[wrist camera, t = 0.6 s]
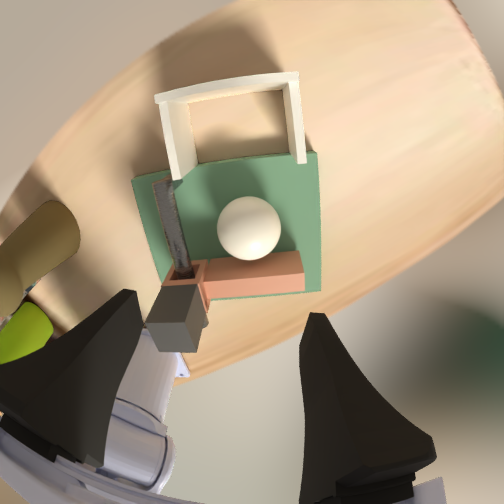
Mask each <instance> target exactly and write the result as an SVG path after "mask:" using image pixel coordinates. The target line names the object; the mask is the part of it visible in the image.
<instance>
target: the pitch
mask: <svg viewBox="0 0 504 504" xmlns="http://www.w3.org/2000/svg"><path fill="white" fill-rule="evenodd" d="M306 158H307V163H306V164H297V162H296V161H295V160H294V158H293V157H292V155H291V154H290V152H289V153H278V154H268V155H259V156H250V157H242V158H235V159H227V160H220V161H214V162H207V163H201V164H198V165H197V166H196V167H194V168H193V169H192V170H191V171H190V172H189V173H187V174H186V175H185V176H184V177H183V178H182V179H183V183H182V184H181V185H180V186H179V187H178V188H177V189H176V190H175V191H174V194H175V198H176V202H177V207H178V211H179V215H180V219H181V224H182V228H183V232H184V236H185V240H186V244H187V247H188V251H189V255H190V259H191V261H193V260H203V259H207V260H208V264H209V263H210V259H214V258H225V257H234V256H232V255H231V254H229V253H228V252H227V251H226V250H225V249H224V248H223V246H222V245H221V243H220V241H219V238H218V234H217V223H218V219H219V216H220V214H221V212H222V210H223V209H224V208H225V207H226V206H227V205H228V204H229V203H230V202H232V201H233V200H235V199H237V198H241V197H247V196H251V197H257V198H260V199H263V200H265V201H266V202H268V203H269V204H270V205H271V206H272V207H273V208H274V209H275V211H276V212H277V214H278V216H279V219H280V224H281V233H280V237H279V240H278V243H277V244H276V246H275V247H274V249H273V250H272V251H271V252H270V253H277V252H287V251H297V250H299V252H300V256H301V260H302V265H303V269H304V274H305V291H298V292H288V293H277V294H266V295H254V296H242V297H228V298H214V299H211V301H213V300H228V299H241V298H254V297H266V296H277V295H288V294H298V293H307V292H317V291H321V219H320V193H319V175H318V160H317V153H316V152H315V151H306ZM170 173H171V169H168V170H163V171H159V172H154V173H149V174H145V175H140V176H137V177H135V178H134V179H132V180H131V182H132V186H133V190H134V194H135V198H136V202H137V205H138V209H139V213H140V216H141V220H142V223H143V227H144V230H145V233H146V237H147V240H148V243H149V247H150V250H151V253H152V256H153V259H154V262H155V265H156V268H157V271H158V274H159V277H160V280H161V283H163V281H164V279H165V277H166V275H167V273H168V271H169V270H170V268H171V266H172V264H173V262H172V258H171V255H170V251H169V248H168V245H167V241H166V237H165V234H164V230H163V227H162V223H161V219H160V215H159V211H158V207H157V204H156V200H155V195H154V191H153V187H152V183H153V182H155V181H157V180H161V179H163V178H164V177H165V176H167V175H168V174H170Z"/></svg>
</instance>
